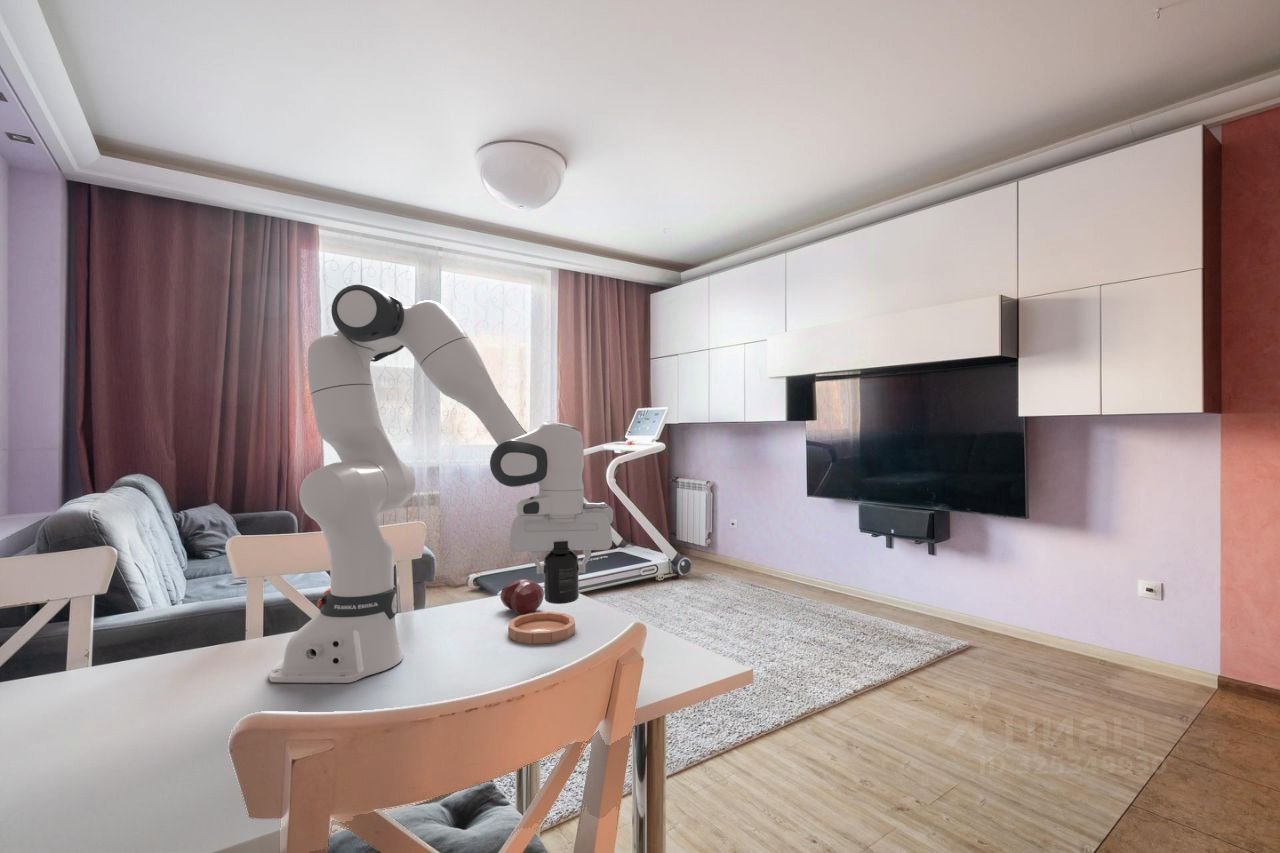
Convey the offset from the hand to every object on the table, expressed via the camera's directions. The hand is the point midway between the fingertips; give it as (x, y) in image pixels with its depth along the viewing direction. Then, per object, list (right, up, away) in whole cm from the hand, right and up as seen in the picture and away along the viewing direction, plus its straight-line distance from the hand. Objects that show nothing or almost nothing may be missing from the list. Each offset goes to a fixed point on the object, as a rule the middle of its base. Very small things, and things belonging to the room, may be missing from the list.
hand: (561, 572), depth 120 cm
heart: (-12, -17, +28) cm, 35 cm away
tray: (-6, -16, +13) cm, 22 cm away
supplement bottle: (0, -6, 0) cm, 6 cm away
